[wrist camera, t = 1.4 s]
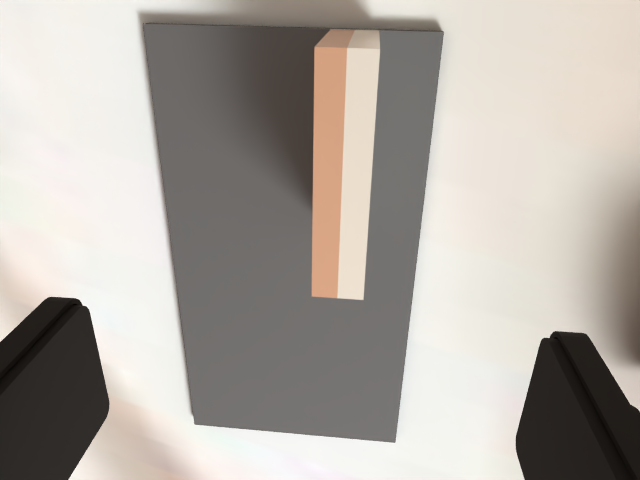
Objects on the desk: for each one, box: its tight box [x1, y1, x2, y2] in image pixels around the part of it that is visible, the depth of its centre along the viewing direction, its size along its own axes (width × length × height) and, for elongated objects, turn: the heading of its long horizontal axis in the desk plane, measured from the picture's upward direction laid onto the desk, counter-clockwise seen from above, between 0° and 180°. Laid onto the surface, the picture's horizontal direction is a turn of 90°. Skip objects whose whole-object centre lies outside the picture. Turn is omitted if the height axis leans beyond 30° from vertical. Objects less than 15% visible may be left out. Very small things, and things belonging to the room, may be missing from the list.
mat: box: [143, 23, 444, 443], centre depth 30 cm, size 26×14×1 cm, turn 179°
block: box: [312, 29, 380, 300], centre depth 23 cm, size 10×2×7 cm, turn 179°
